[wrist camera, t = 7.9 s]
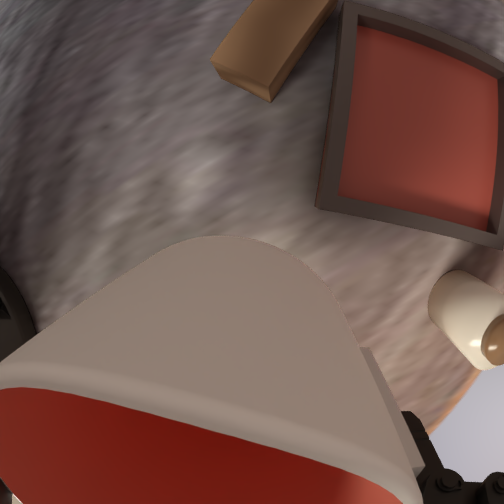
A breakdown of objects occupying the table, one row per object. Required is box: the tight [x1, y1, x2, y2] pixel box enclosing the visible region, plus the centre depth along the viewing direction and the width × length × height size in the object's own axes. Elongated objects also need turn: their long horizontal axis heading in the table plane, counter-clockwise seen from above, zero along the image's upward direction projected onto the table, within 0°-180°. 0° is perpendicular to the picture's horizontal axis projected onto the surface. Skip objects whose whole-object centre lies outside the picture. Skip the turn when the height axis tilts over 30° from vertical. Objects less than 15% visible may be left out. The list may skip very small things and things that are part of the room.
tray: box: [315, 1, 504, 251], centre depth 18 cm, size 15×15×2 cm
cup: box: [0, 236, 423, 504], centre depth 9 cm, size 10×10×10 cm
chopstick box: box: [210, 0, 338, 103], centre depth 17 cm, size 4×10×4 cm, turn 149°
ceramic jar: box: [428, 270, 504, 370], centre depth 17 cm, size 5×5×8 cm
